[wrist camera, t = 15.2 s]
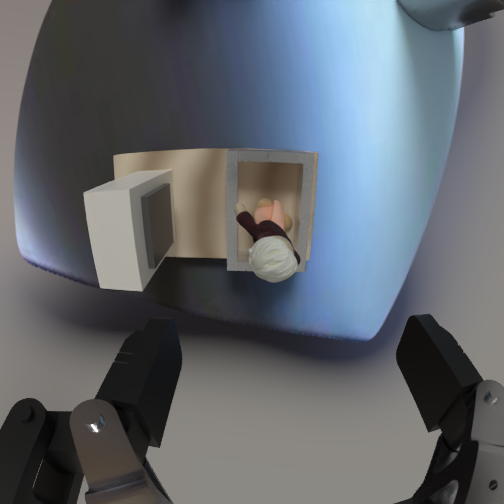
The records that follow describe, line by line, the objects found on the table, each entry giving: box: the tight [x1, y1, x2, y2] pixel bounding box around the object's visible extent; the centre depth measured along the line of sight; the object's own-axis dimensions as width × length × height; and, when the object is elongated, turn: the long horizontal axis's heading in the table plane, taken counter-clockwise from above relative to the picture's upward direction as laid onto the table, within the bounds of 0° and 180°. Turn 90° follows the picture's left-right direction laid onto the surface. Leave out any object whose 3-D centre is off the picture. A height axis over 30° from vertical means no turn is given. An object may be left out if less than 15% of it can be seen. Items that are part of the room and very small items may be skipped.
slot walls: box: [226, 149, 315, 272], centre depth 28 cm, size 8×12×3 cm, turn 179°
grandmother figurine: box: [234, 198, 301, 283], centre depth 24 cm, size 8×4×13 cm, turn 59°
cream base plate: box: [114, 149, 318, 260], centre depth 30 cm, size 22×12×2 cm, turn 89°
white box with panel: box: [84, 169, 176, 291], centre depth 24 cm, size 5×8×11 cm, turn 179°
